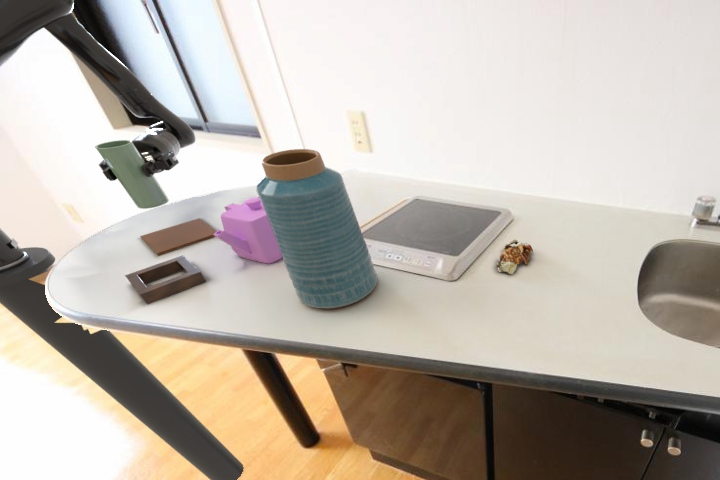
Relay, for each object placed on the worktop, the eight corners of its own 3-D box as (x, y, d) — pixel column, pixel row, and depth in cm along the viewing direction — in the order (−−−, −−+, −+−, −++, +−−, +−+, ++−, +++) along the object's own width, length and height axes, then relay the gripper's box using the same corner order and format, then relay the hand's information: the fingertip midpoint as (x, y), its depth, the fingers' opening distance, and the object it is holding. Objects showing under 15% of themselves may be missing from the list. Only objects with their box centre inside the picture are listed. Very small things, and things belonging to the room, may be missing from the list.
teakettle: (308, 227, 99) (290, 181, 91) (312, 256, 88) (293, 206, 80) (238, 240, 94) (212, 193, 86) (234, 272, 83) (203, 221, 74)
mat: (158, 255, 88) (156, 253, 88) (141, 238, 95) (140, 236, 95) (219, 234, 96) (218, 232, 96) (200, 220, 103) (199, 218, 103)
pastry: (492, 271, 82) (491, 258, 80) (507, 246, 91) (507, 233, 88) (521, 277, 81) (522, 263, 78) (534, 251, 89) (535, 238, 87)
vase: (366, 312, 72) (320, 173, 54) (285, 312, 72) (212, 173, 54) (386, 268, 84) (355, 142, 66) (317, 267, 84) (266, 142, 66)
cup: (141, 211, 83) (98, 150, 74) (134, 203, 86) (92, 144, 77) (172, 202, 87) (134, 143, 78) (164, 195, 90) (127, 138, 81)
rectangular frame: (147, 304, 74) (139, 294, 72) (132, 284, 79) (124, 275, 78) (206, 281, 80) (200, 271, 79) (189, 264, 85) (182, 255, 84)
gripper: (107, 138, 87) (73, 159, 75) (176, 133, 90) (154, 152, 79) (129, 171, 92) (100, 195, 80) (193, 164, 96) (175, 187, 84)
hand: (127, 174), depth 80 cm, fingers closed on cup, 6 cm apart
